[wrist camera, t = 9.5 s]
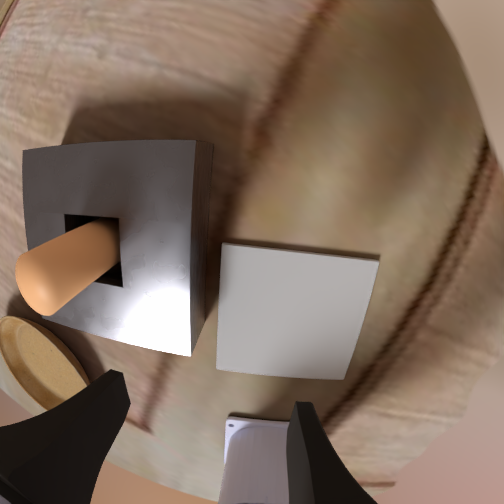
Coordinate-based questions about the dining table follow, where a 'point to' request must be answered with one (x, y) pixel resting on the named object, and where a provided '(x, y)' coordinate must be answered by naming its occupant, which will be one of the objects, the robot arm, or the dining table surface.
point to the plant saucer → (40, 362)
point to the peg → (67, 264)
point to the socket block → (130, 233)
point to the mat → (290, 311)
